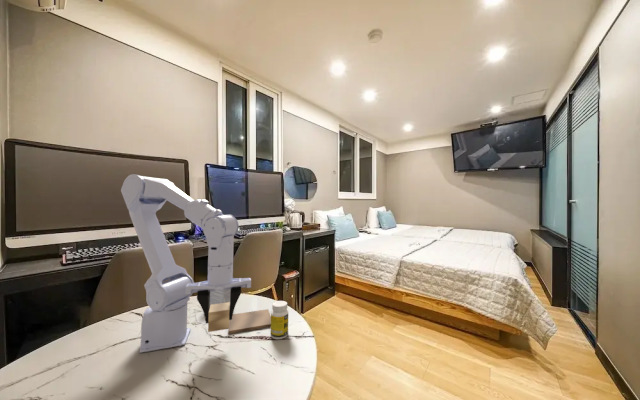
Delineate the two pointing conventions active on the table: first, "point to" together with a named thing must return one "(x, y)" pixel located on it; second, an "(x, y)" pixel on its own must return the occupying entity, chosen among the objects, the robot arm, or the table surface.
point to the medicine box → (220, 296)
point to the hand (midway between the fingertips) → (219, 319)
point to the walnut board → (249, 321)
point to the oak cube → (218, 317)
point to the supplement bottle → (279, 320)
